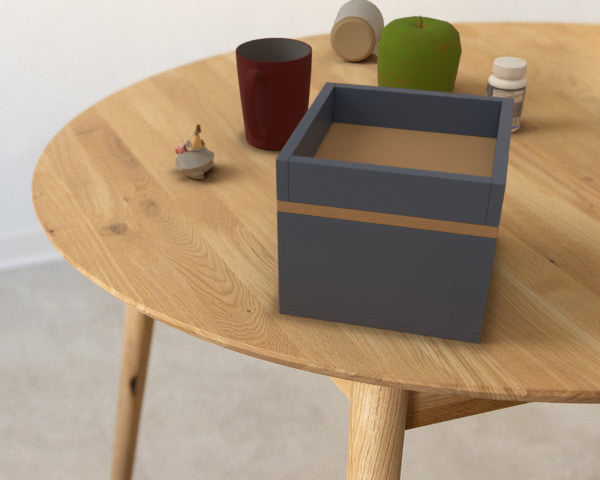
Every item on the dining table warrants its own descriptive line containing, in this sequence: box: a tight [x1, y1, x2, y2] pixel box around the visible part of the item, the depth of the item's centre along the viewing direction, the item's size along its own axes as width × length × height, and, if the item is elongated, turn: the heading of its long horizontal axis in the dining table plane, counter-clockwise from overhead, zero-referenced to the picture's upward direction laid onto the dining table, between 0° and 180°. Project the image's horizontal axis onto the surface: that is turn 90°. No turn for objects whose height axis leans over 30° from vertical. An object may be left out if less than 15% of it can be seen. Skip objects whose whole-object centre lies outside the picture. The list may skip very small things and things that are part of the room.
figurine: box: [174, 123, 215, 181], centre depth 87 cm, size 5×4×6 cm
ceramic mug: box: [330, 0, 385, 63], centre depth 120 cm, size 11×8×8 cm
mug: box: [235, 37, 313, 151], centre depth 93 cm, size 12×9×11 cm
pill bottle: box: [485, 55, 528, 133], centre depth 97 cm, size 5×5×8 cm
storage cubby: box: [275, 81, 514, 345], centre depth 68 cm, size 17×17×14 cm
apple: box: [376, 15, 463, 93], centre depth 105 cm, size 11×11×11 cm
